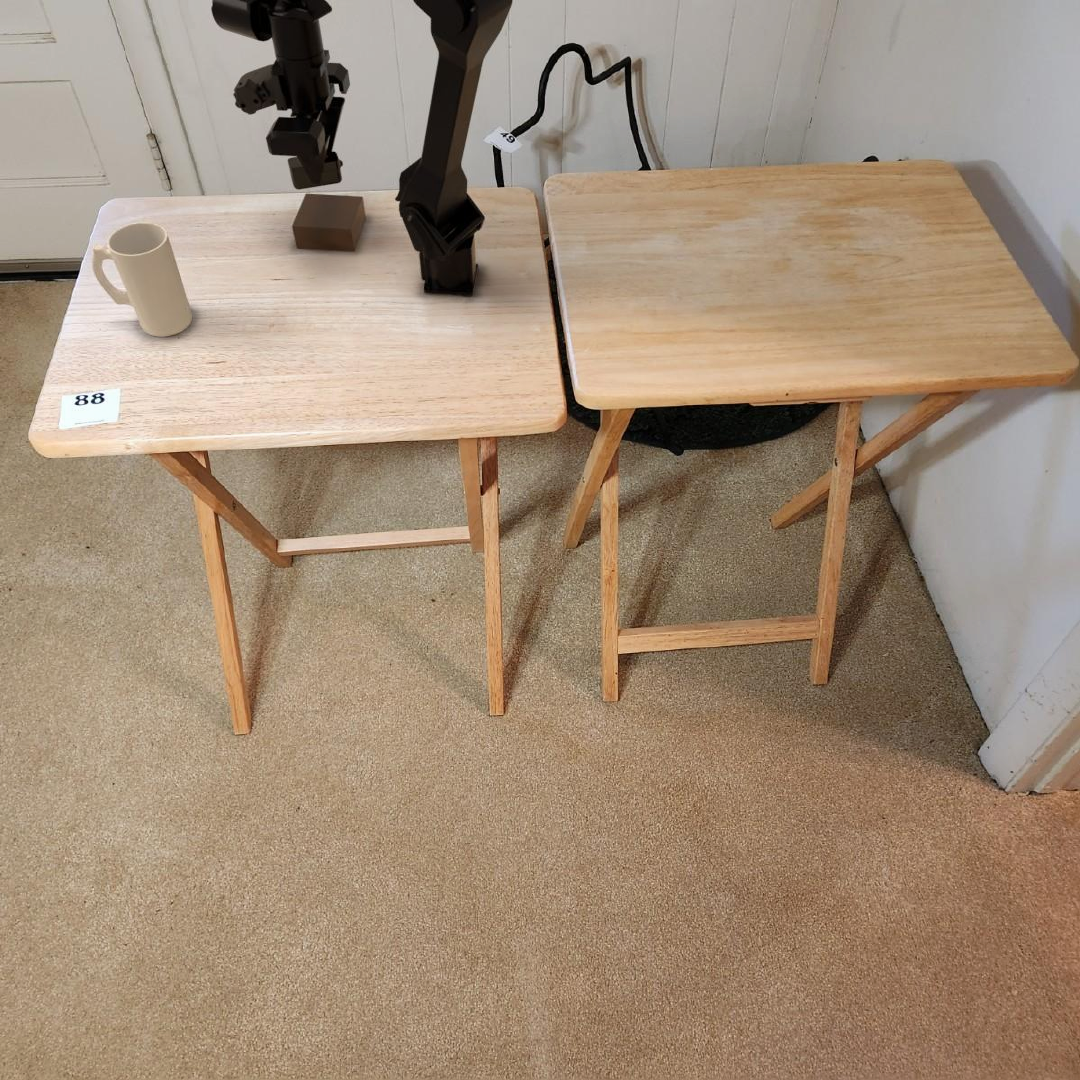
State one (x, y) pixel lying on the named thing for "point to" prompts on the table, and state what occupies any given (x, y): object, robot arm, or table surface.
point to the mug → (146, 277)
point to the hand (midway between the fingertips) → (321, 171)
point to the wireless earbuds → (328, 176)
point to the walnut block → (329, 222)
